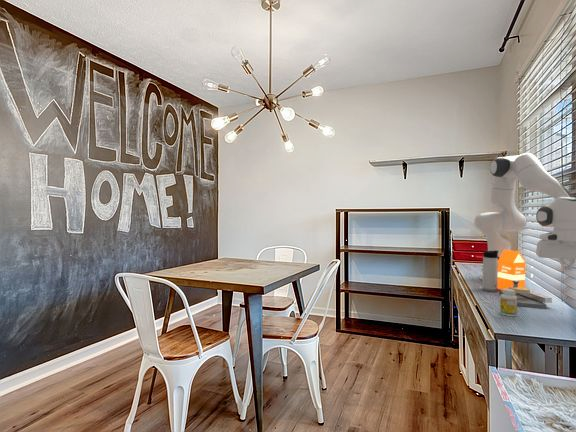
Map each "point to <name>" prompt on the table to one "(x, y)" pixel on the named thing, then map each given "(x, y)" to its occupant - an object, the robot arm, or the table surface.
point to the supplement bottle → (508, 303)
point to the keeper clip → (519, 289)
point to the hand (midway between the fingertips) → (566, 269)
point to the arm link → (532, 294)
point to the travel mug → (490, 270)
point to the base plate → (528, 301)
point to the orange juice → (511, 269)
